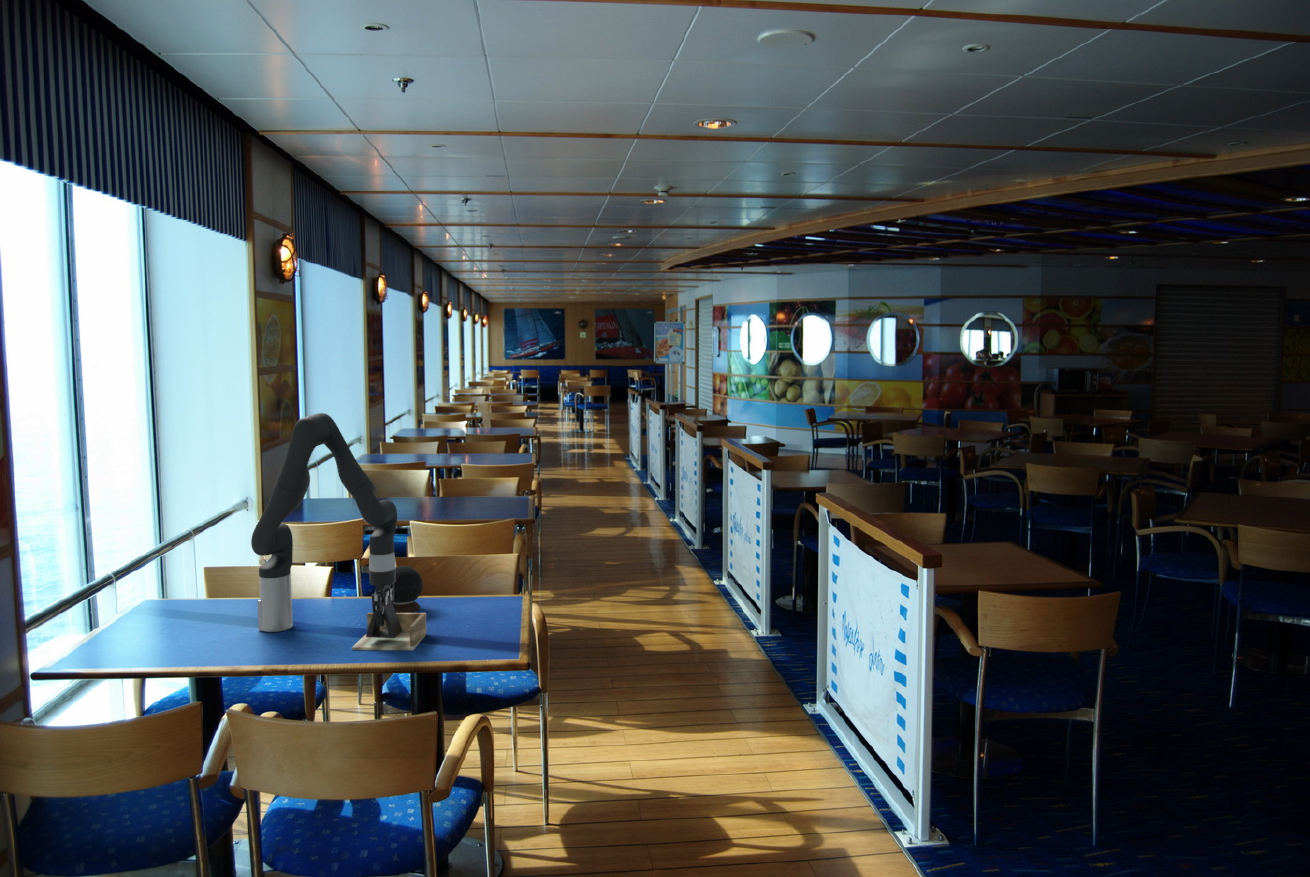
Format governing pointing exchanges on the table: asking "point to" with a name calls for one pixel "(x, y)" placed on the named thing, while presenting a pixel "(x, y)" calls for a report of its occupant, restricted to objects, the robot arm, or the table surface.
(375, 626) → the phone stand
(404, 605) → the stone ball on stand
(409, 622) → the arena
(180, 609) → the table surface
